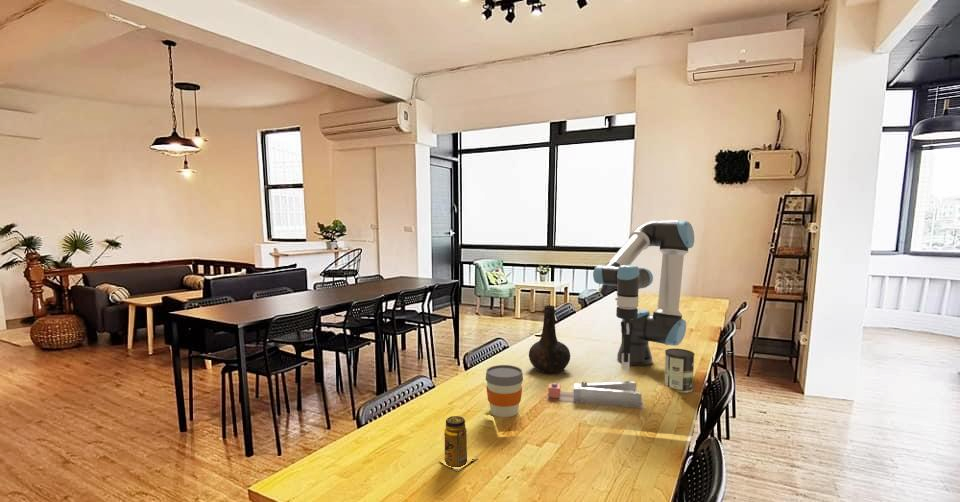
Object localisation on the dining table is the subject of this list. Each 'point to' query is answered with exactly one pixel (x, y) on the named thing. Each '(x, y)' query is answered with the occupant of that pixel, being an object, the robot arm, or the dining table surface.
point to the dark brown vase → (549, 347)
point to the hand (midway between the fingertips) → (625, 369)
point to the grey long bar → (606, 396)
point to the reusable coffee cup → (504, 389)
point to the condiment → (456, 442)
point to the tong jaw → (613, 385)
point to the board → (569, 398)
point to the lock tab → (554, 390)
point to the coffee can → (679, 369)
